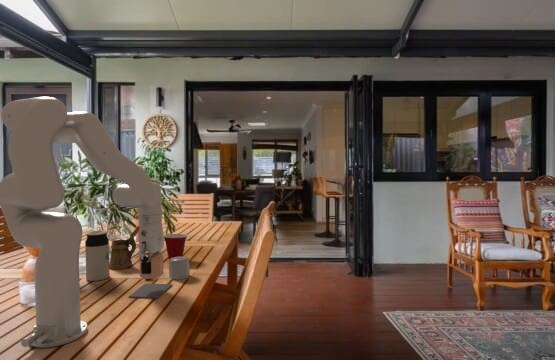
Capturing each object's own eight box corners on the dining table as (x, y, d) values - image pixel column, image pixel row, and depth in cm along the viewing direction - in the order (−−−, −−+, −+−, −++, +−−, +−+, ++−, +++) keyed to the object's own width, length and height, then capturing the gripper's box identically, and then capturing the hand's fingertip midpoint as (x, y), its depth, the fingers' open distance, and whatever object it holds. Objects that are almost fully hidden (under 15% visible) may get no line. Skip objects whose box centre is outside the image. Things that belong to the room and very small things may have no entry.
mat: (157, 298, 110) (157, 297, 110) (128, 297, 111) (128, 296, 111) (172, 285, 122) (172, 284, 122) (145, 284, 123) (145, 283, 123)
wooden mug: (137, 269, 141) (136, 227, 140) (104, 270, 140) (103, 227, 140) (145, 263, 150) (144, 223, 149) (114, 263, 149) (113, 223, 148)
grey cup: (185, 279, 128) (184, 261, 128) (167, 279, 129) (166, 261, 128) (191, 273, 135) (191, 256, 135) (174, 273, 136) (173, 256, 135)
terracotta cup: (157, 278, 112) (156, 258, 112) (137, 278, 113) (136, 258, 113) (165, 271, 120) (165, 252, 119) (146, 271, 120) (146, 252, 120)
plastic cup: (192, 257, 158) (192, 232, 158) (180, 264, 148) (179, 237, 147) (171, 256, 161) (171, 231, 161) (158, 262, 151) (158, 236, 150)
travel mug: (81, 281, 126) (80, 234, 126) (93, 274, 134) (92, 230, 134) (102, 281, 126) (101, 234, 125) (113, 274, 134) (112, 230, 133)
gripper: (149, 223, 106) (150, 278, 107) (170, 215, 124) (171, 262, 125) (126, 223, 107) (128, 278, 108) (151, 215, 124) (152, 262, 125)
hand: (151, 269), depth 116 cm, fingers closed on terracotta cup, 7 cm apart
